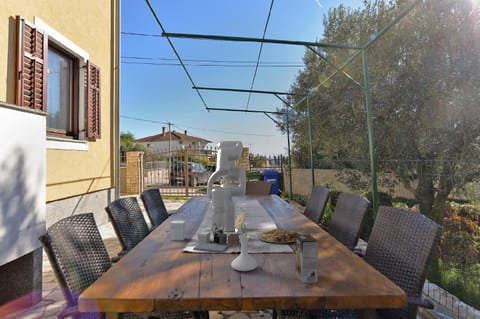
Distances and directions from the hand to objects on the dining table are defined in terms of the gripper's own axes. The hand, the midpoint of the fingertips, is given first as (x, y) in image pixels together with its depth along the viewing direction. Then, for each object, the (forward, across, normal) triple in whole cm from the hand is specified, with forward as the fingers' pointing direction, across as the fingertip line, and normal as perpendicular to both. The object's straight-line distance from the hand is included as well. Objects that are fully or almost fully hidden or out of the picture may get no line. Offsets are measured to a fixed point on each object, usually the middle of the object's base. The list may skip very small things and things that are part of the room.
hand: (218, 241), depth 160 cm
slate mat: (+1, +11, 0) cm, 11 cm away
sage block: (+1, 0, -9) cm, 9 cm away
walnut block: (+1, 0, +9) cm, 9 cm away
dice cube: (+1, 0, +1) cm, 2 cm away
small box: (+1, 0, -26) cm, 26 cm away
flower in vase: (+1, +34, +25) cm, 42 cm away
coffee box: (+1, +36, +51) cm, 62 cm away
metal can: (+1, -11, +9) cm, 14 cm away
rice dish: (+1, -19, +33) cm, 38 cm away
